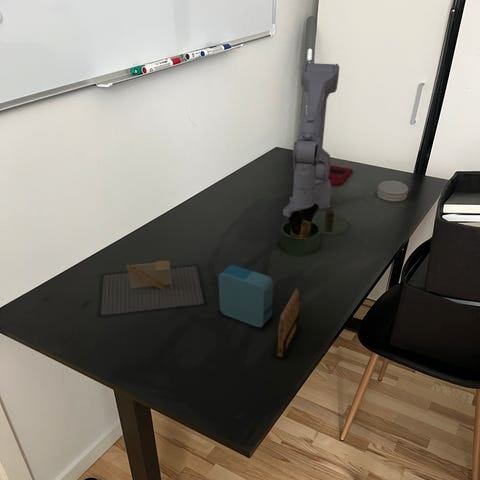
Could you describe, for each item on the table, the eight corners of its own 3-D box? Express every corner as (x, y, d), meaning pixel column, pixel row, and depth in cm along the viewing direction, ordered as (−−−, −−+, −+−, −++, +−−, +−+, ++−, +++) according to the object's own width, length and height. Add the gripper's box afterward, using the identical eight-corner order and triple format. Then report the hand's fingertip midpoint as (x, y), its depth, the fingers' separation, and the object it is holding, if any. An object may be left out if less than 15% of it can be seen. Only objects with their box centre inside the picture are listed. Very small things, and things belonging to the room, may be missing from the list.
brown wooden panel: (290, 327, 117) (293, 285, 109) (298, 329, 116) (302, 287, 109) (275, 356, 109) (277, 313, 102) (283, 358, 109) (286, 315, 101)
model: (172, 290, 129) (169, 265, 124) (130, 294, 128) (126, 269, 123) (172, 283, 131) (169, 258, 127) (130, 287, 130) (126, 262, 125)
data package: (272, 319, 119) (273, 277, 112) (263, 329, 116) (264, 287, 109) (229, 303, 124) (228, 262, 117) (219, 313, 121) (217, 272, 114)
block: (299, 230, 146) (299, 217, 143) (310, 234, 144) (311, 222, 141) (290, 235, 144) (291, 222, 141) (301, 240, 142) (302, 227, 139)
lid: (336, 215, 160) (338, 200, 157) (355, 232, 151) (357, 217, 148) (302, 221, 157) (303, 206, 154) (319, 239, 148) (321, 223, 145)
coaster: (377, 188, 175) (379, 178, 173) (407, 191, 173) (409, 181, 171) (375, 200, 168) (377, 190, 166) (406, 203, 166) (408, 194, 164)
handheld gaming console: (314, 178, 179) (328, 164, 189) (314, 182, 180) (327, 167, 190) (340, 183, 176) (352, 168, 186) (340, 187, 176) (352, 171, 187)
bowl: (308, 232, 151) (310, 216, 148) (325, 251, 143) (327, 234, 140) (274, 239, 149) (275, 223, 145) (289, 258, 140) (290, 241, 137)
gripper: (308, 173, 141) (304, 217, 149) (275, 190, 132) (273, 235, 141) (329, 180, 137) (324, 225, 145) (296, 197, 129) (293, 244, 137)
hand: (300, 230), depth 143 cm, fingers closed on block, 4 cm apart
